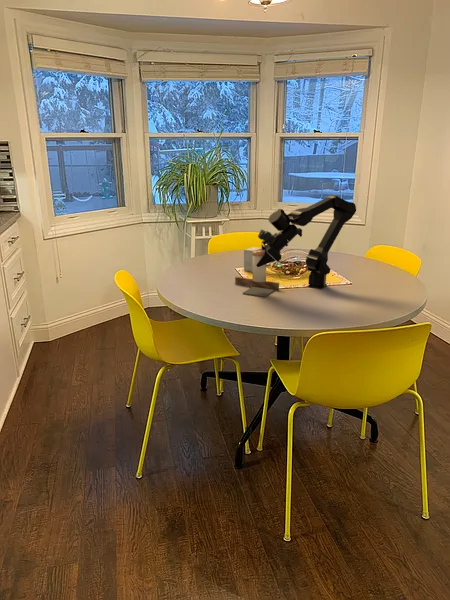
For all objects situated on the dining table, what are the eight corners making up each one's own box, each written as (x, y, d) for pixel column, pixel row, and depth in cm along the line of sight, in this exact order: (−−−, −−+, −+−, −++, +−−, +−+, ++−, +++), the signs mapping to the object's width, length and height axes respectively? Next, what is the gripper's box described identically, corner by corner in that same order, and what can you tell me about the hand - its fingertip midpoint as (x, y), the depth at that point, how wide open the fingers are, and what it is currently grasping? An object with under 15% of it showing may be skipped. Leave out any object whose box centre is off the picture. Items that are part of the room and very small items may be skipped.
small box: (252, 272, 218) (253, 250, 215) (243, 270, 222) (243, 249, 218) (262, 269, 224) (262, 248, 221) (252, 267, 228) (253, 246, 224)
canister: (268, 279, 188) (269, 250, 184) (263, 282, 183) (263, 253, 179) (255, 277, 191) (255, 249, 187) (249, 281, 186) (249, 252, 182)
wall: (278, 289, 192) (279, 282, 191) (277, 290, 191) (278, 283, 190) (236, 283, 201) (236, 276, 200) (235, 283, 200) (235, 277, 199)
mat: (274, 290, 191) (274, 289, 190) (265, 297, 182) (265, 296, 182) (252, 287, 195) (252, 286, 195) (242, 293, 187) (242, 292, 186)
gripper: (267, 219, 188) (240, 245, 191) (273, 227, 171) (244, 256, 174) (285, 237, 191) (258, 263, 194) (293, 247, 174) (264, 275, 177)
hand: (256, 264), depth 185 cm, fingers closed on canister, 6 cm apart
